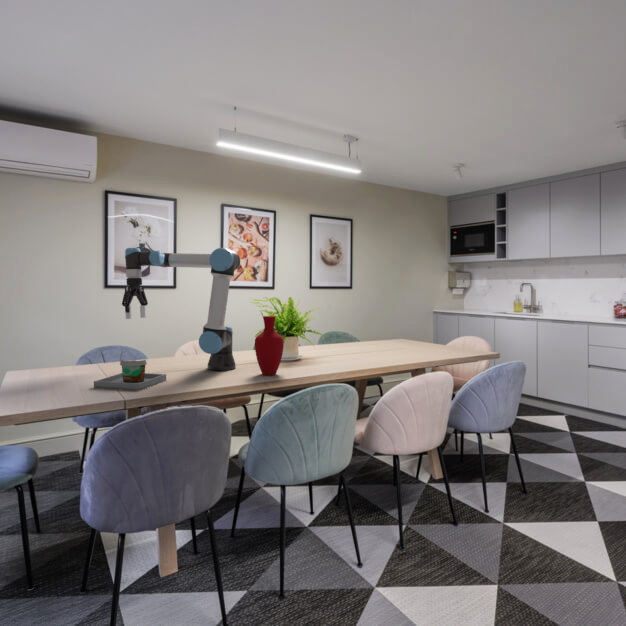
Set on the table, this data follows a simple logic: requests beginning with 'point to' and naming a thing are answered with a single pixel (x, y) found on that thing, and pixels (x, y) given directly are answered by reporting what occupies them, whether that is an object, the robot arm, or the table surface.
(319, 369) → the table surface
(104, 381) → the gray square tray
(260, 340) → the vase
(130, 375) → the food container
